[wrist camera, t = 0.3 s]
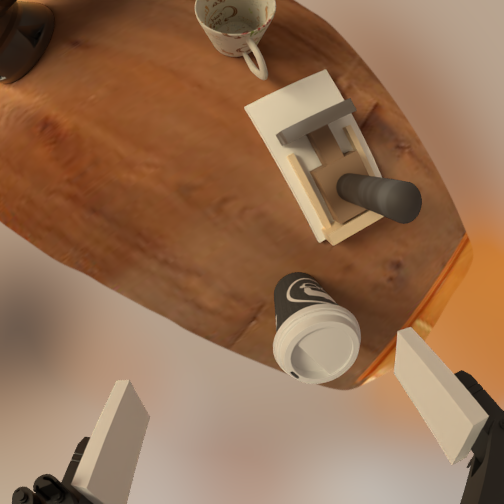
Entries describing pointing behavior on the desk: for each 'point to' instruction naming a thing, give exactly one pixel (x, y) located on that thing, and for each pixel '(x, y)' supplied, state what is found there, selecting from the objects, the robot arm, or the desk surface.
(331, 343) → the coffee cup
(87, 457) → the robot arm
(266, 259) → the desk surface
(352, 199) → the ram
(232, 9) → the mug
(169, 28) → the desk surface
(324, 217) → the white slotted peg base
